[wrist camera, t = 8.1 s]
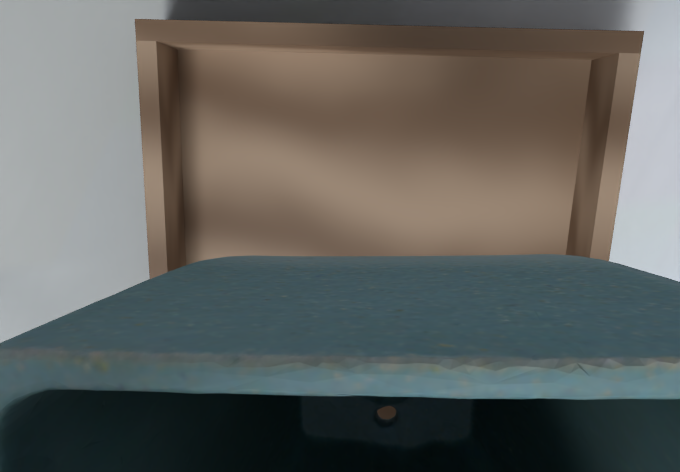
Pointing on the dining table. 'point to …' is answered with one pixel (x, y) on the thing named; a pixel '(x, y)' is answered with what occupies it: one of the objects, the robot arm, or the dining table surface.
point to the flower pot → (355, 369)
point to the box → (380, 139)
